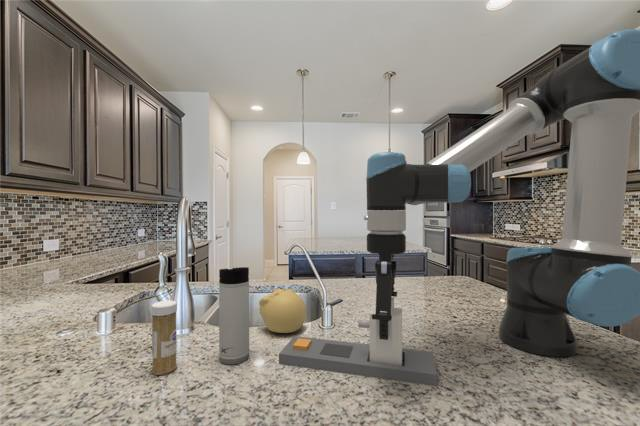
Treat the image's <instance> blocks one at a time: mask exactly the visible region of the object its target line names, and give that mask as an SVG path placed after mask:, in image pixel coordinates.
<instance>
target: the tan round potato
mask: <svg viewBox="0 0 640 426" xmlns="http://www.w3.org/2000/svg"><path fill="white" fill-rule="evenodd" d="M258 305H259V315H260V317H261V318H262V321H263V323H264V325H265V327H266V329H267V330H269V331H270V332H273V333H279V334H289V333H295V332H297V331H298V330H301V328H302V326H303V325H304V324H305V321H306V316H307V309H306V304H305V302H304V300H303V298H302V297H301V296H300V295H299V294H298V293H297V291H295V290H293V289H292V288H291V289H283V288H276V289H274V290H273V291H272V292H271V293H270V294H267V295H266V296H263V297H261V298H260V299H259V301H258Z"/></svg>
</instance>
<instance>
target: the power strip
mask: <svg viewBox="0 0 640 426" xmlns="http://www.w3.org/2000/svg"><path fill="white" fill-rule="evenodd" d="M434 357H435V355H434V352H433V351H429V350H428V351H427V350H418V349H410V348H403V347H402V366H398V365H390V364H383V363H375V362H370V344H368V343H367V344H366V343H358V342H348V341H341V340H332V339H323V338H314V337H305V336H299V335H298V336H296V335H294V336H293V337H292V338H291V339H290V340H289V342H287V344H286V345H285V346H284V347H283V348H282V349H281V351H280V352H279V353H278V365H285V366H292V367H298V368H307V369H313V370H319V371H320V370H321V371H327V372H334V373H341V374H347V375H355V376H361V377H368V378H375V379H381V380H389V381H395V382H403V383H411V384H417V385H424V386H425V385H426V386H429V387H430V386H431V387H438V372H437V366H436V361H435V358H434Z"/></svg>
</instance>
